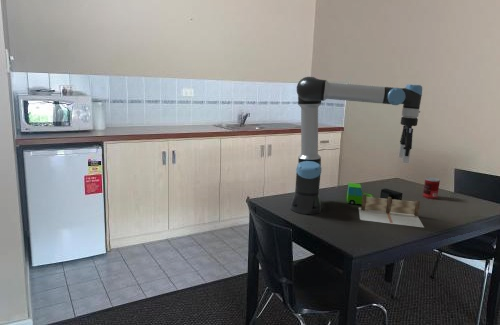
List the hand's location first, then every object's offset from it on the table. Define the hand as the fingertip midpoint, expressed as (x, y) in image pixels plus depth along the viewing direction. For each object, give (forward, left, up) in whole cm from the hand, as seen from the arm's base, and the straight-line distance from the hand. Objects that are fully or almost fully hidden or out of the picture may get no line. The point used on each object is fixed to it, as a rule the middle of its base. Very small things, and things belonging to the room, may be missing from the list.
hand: (403, 160), depth 194 cm
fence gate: (+3, -6, -26) cm, 27 cm away
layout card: (-5, -12, -27) cm, 30 cm away
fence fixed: (-11, -6, -27) cm, 29 cm away
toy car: (-18, +6, -27) cm, 33 cm away
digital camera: (-2, +13, -27) cm, 30 cm away
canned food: (+23, +35, -27) cm, 49 cm away
